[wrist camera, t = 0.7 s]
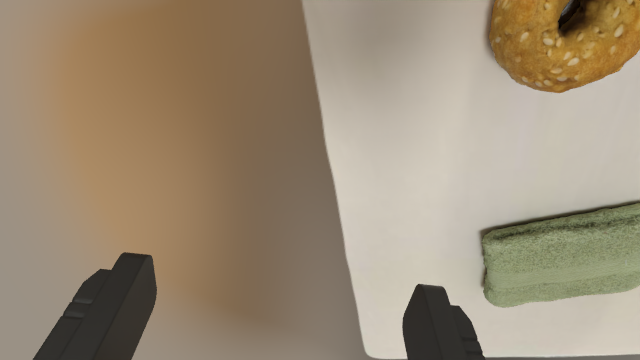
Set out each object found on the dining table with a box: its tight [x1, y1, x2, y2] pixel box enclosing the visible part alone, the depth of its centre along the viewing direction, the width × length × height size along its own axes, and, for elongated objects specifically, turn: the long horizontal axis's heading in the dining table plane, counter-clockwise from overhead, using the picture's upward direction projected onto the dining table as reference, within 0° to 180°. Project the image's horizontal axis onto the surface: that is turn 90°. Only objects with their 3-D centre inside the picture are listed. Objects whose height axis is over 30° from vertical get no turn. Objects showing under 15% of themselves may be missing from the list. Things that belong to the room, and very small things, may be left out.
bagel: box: [489, 0, 640, 93], centre depth 25 cm, size 10×11×5 cm
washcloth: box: [482, 203, 640, 308], centre depth 42 cm, size 13×18×3 cm
